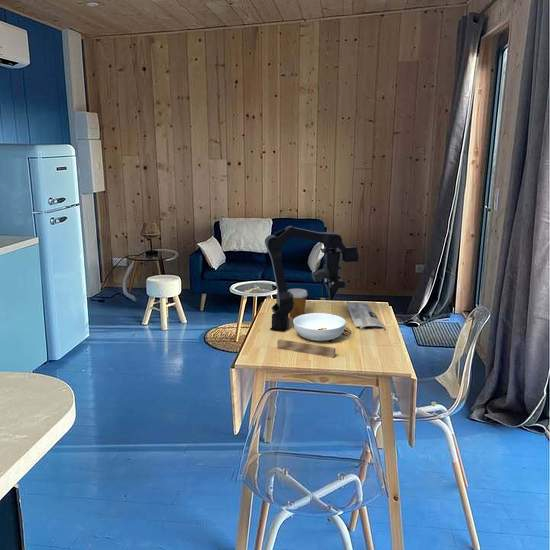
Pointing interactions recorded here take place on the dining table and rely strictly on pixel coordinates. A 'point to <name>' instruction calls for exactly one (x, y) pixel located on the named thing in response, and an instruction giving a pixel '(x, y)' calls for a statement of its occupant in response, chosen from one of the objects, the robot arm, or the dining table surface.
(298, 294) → the disposable coffee cup
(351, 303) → the newspaper
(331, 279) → the robot arm
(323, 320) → the serving bowl
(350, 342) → the dining table surface
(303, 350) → the walnut bar
